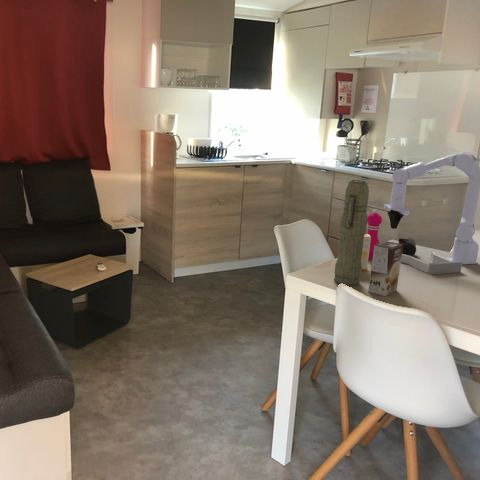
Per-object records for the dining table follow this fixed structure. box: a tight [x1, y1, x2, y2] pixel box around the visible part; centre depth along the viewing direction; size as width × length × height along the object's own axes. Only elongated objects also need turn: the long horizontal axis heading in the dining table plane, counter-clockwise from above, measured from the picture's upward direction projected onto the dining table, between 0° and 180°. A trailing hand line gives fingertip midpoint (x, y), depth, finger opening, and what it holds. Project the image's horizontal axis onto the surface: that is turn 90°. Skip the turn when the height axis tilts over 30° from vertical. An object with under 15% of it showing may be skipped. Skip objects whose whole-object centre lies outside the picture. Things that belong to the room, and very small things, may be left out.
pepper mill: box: [366, 209, 383, 261], centre depth 215 cm, size 7×7×20 cm
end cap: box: [398, 237, 417, 257], centre depth 224 cm, size 10×7×7 cm
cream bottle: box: [361, 233, 371, 271], centre depth 201 cm, size 8×5×13 cm, turn 84°
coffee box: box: [367, 240, 403, 297], centre depth 178 cm, size 9×6×16 cm
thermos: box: [333, 179, 370, 287], centre depth 182 cm, size 9×12×35 cm
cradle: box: [401, 251, 463, 275], centre depth 211 cm, size 18×17×4 cm
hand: (393, 228), depth 231 cm, fingers closed
